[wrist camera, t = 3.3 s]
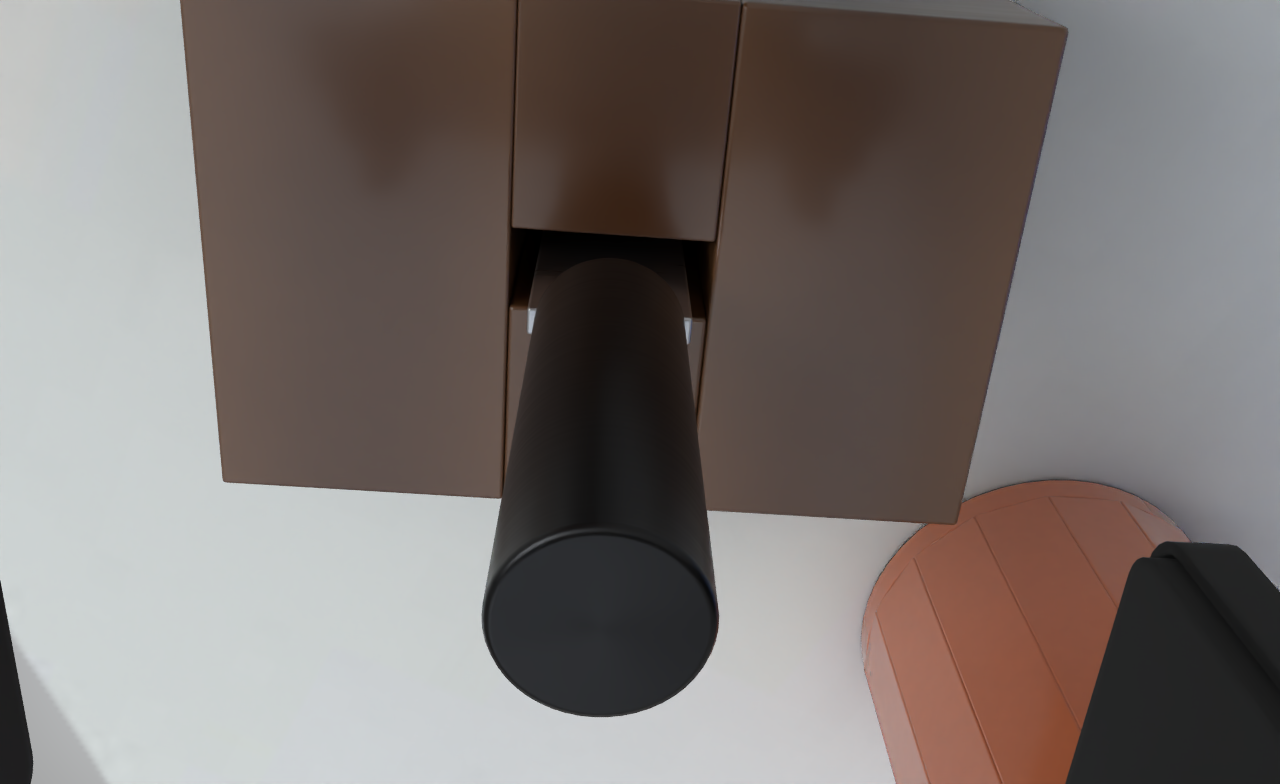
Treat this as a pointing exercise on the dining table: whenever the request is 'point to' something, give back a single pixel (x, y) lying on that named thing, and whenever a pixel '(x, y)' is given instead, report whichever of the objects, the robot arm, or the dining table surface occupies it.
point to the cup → (1002, 630)
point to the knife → (604, 487)
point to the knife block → (615, 227)
